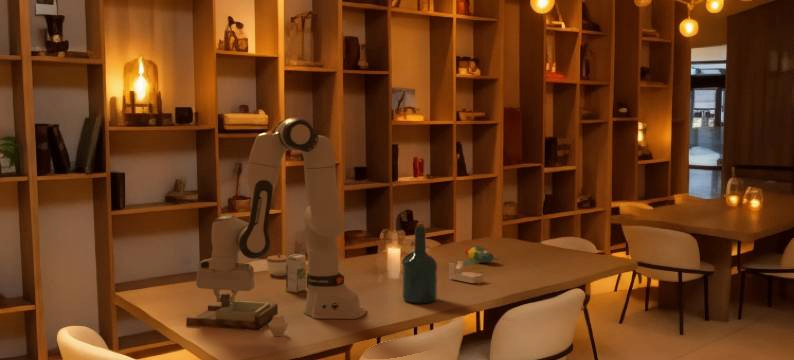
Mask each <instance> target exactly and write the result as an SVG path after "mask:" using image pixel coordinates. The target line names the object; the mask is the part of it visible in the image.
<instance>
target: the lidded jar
mask: <svg viewBox="0 0 794 360" xmlns="http://www.w3.org/2000/svg"><path fill="white" fill-rule="evenodd" d="M287 256H288V255H285V254H284V255H283V254H281V253H277V255H269V256H267V257H266V265H267V269H268V272H270V274H271V275H272V276H273V277H282V276H286V257H287Z"/></svg>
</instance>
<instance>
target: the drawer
mask: <svg viewBox="0 0 794 360" xmlns="http://www.w3.org/2000/svg"><path fill="white" fill-rule="evenodd" d="M220 296H221V302H220V303H221V304H220V306H222V307H221V308H220V309H218V310H216V311H215V315H216V319H224V320H238V321H252V322H255V317H256V316H257V315H259V314H260V313H262V312H263V311H265V310H266V309H267V308H269V307H270V306H271V303H270V302H262V301H246V300H245V301H244V300H235V301H234V303H229V297H231V294H230V293H228V292H227V293H225V292H224V293H221V294H220Z"/></svg>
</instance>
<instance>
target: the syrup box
mask: <svg viewBox="0 0 794 360" xmlns="http://www.w3.org/2000/svg"><path fill="white" fill-rule="evenodd" d="M286 256H287V257H286V275H285V291H286V292H289V293H297V294H298V293H301V292H303V291H306V285H307V274H306V273H307V271H306V270H307V265H306V264H307V263H306V262H307V256H306V255H304V254H301V253H294V254H291V255H286Z"/></svg>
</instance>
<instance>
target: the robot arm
mask: <svg viewBox="0 0 794 360" xmlns="http://www.w3.org/2000/svg"><path fill="white" fill-rule="evenodd" d="M333 148H334V147H333V145H332V141H331V139H330V138H329V137H327V136H325V135H319V134H317V132H316V131H315V129H314V127H313V126H312V124H310V122H308V121H307V120H306V119H303V118H300V117H289V118H286V119H283V120H282V121H280V122H279V123H278V125H277V126H276V127H275V128H274V129H273V130H272V132H263V133H260V134H258V135H257V136H256V137H255V140H254V142H253V144H252V147H251V151H250V153H249V157H248V158H249V159H248V163H247V171H246V177H247V178H246V179H247V180H246V182H247V184H248V187H249V190H250V194H251V207H250V211H249V219H248V222H246V221H244V220H242V219H240V218H238V217H236V216H235V215H232V214H230V215H222V216H219V217H217V218H216V219H214V220H213V222H212V225H211V244H212V245H211V246H212V250H211V251H212V252H211V257H209V258H206V259H203V260H201V261H199V262H197V263H198V264H197V265H198V266H197V267H198V270H197V271H196V279H195V282H196V287H197V288H198V289H203V290H204V289H207V290H213V291H212V292H213V294H214V296H215V297H216V303H221V294H220V292H219V291H220V290H223V291H231V295H230V297H229V303H234V301H236V300H235V299H236V296H237V294H238V291H240V292H241V291H242V292H250V291H252V290H253V289H254V288H255V279H254V278H255V277H254V274H255V272H254V271H255V270H254V267H253V266H252V265H251V264H249V263H241V262H240V263H239V252H241V254H242V255H243V256H244V257H246V258H248V259H252V260H254V259H259V258H262V257H264V256H265V255H266V254H267V252H269V250H270V246H271V240H270V239H271V238H270V236H269V232H268V224H269V218H270V210H271V205H272V200H273V195H274V192H275V189H276V185H277V182H278V179H279V175H280V172H281V167H282V166H281V165H282V159H283V157H284V155H285V153H286V152H287V151H288V150H293V151H295V150H297V151H300V153H301V154H302V157H303V158H302V159H303V169H304V183H305V192H306V194H307V198H308V203H309V206H307V207H306V209H305V211H304V212H303V222H304V231H305V239H306V240H305V241H306V245H307V259H308V260H307V272H306V273H307V274H306V289H307V292H306V293H307V294H306V301H305V305H304V308H303V313H304V314H305V315H308V316H310V317H312V318H313V319H327V320H328V319H329V320H330V319H331V320H332V319H335V320H336V319H338V320H340V319H343V320H345V319H346V320H349V319H350V320H355V319H359V318H361V317H363V316H364V315H365V314H366V313H367V308H366V307H365V306H364V305H361V303H360V302H361V301H360V298H359V294H358V293H357V292H356V291H354V290H353V289H351V287H349V286H348V285H347V284H346V283H345V278H346V277H345V276H346V275H345V274H343V275H342V274H341V273H340V271H339V269H340V266H339V265H340V259H339V258H340V256H339V255H340V252H339V248H338V244H337V243H338V242H337V237H338V236H339V235H341V234H342V233H343V231H344V228H345V224H346V222H345V219H344V216H343V212H342V211H343V210H342V205H341V200H340V196H339V191H338V185H337V184H338V183H337V173H336V172H337V171H336V159H335V154H334V149H333Z"/></svg>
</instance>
